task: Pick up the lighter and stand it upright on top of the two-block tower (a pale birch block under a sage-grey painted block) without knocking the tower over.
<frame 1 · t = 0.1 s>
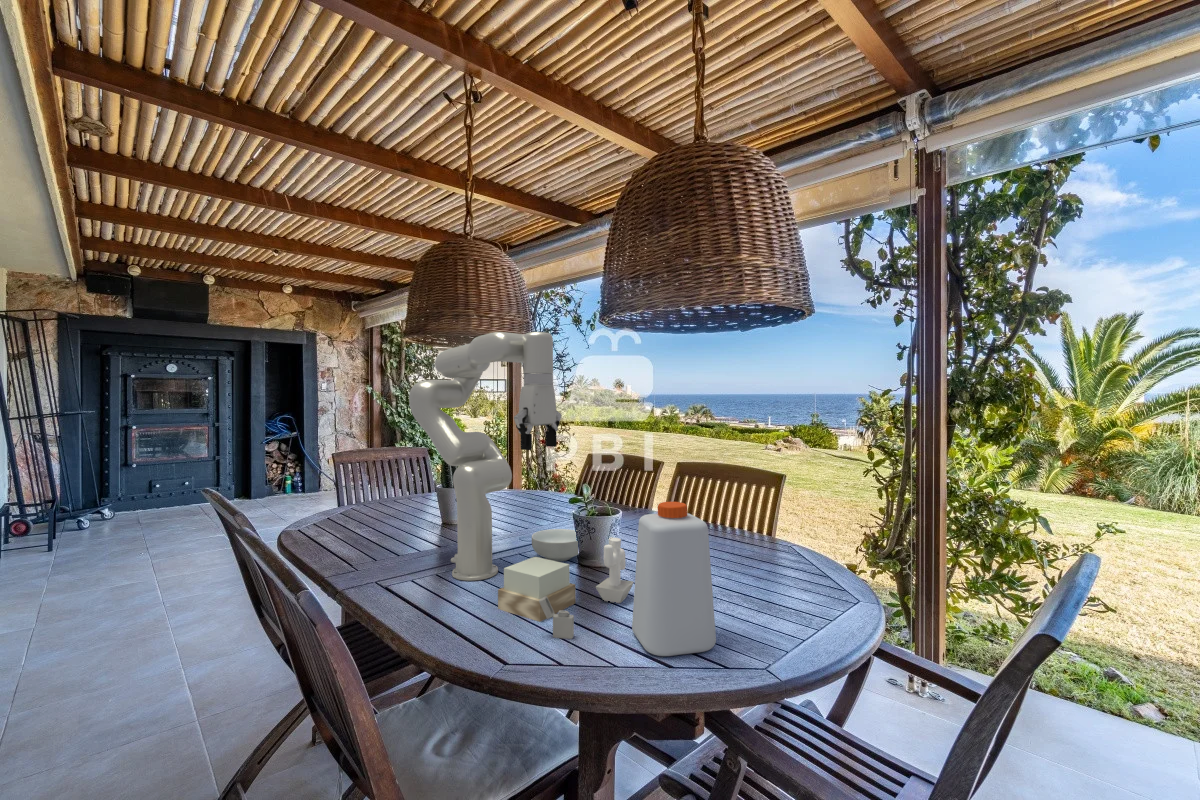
hand: (539, 448, 141), 37 cm above the table, tool pointing down, fingers open, 9 cm apart
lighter: (556, 636, 116), on the table
plastic bottle: (672, 640, 114), on the table
birch base block: (537, 607, 132), on the table, touching sage top block
cereal bowl: (558, 558, 171), on the table
figurine: (615, 599, 136), on the table
sage top block: (537, 587, 132), point 5 cm above the table, touching birch base block
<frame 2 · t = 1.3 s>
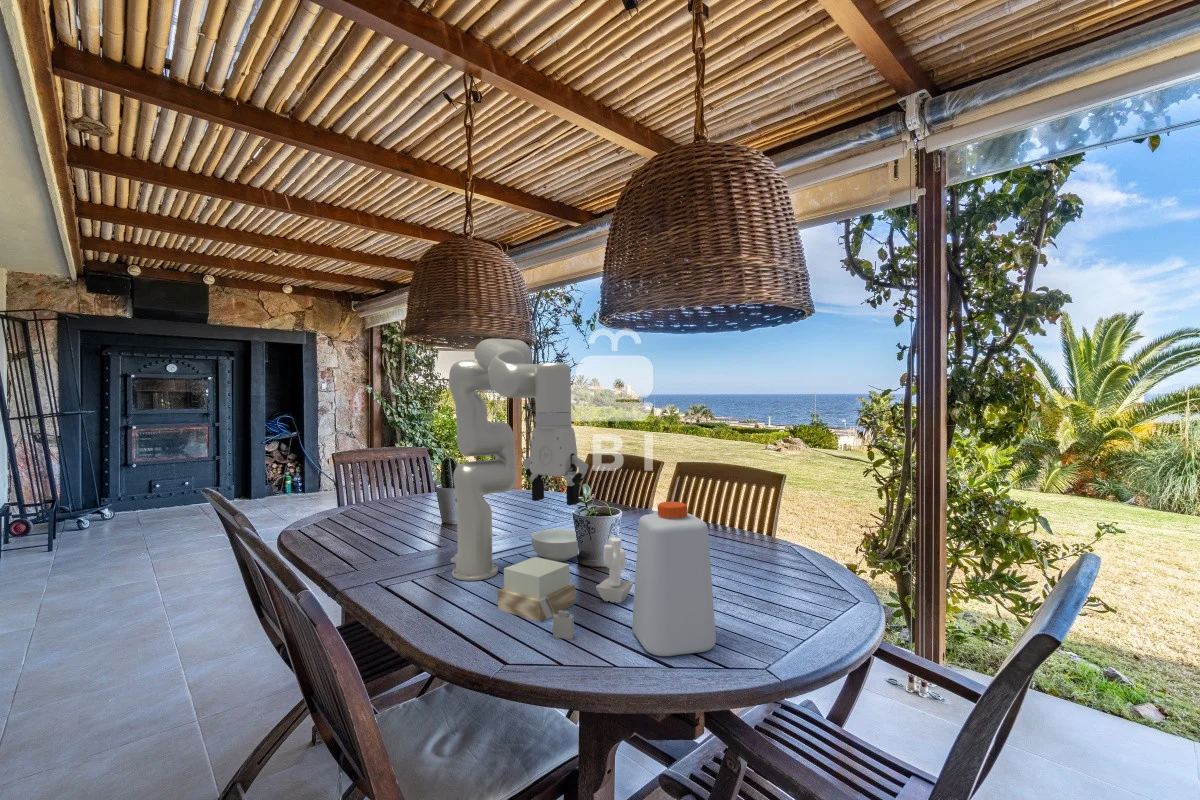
hand: (555, 502, 117), 28 cm above the table, tool pointing down, fingers open, 9 cm apart
nothing on the table moved.
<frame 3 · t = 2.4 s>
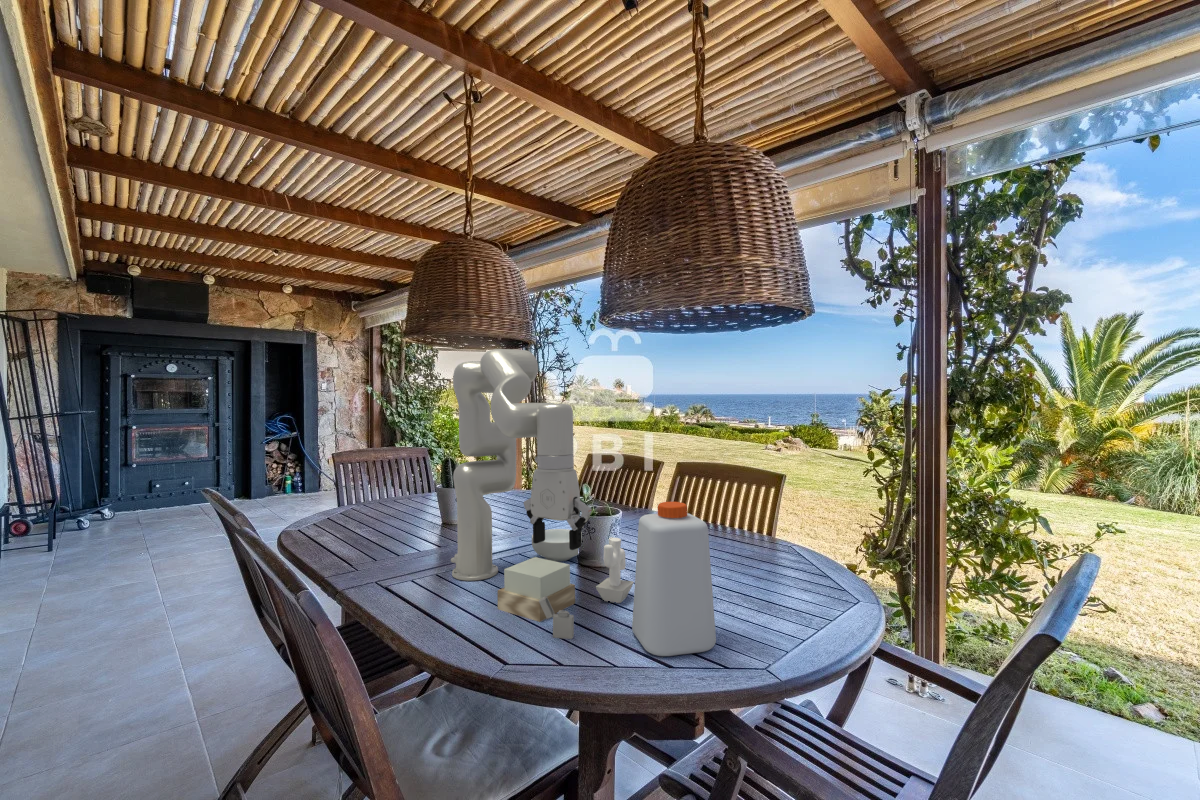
hand: (556, 545, 115), 19 cm above the table, tool pointing down, fingers open, 9 cm apart
nothing on the table moved.
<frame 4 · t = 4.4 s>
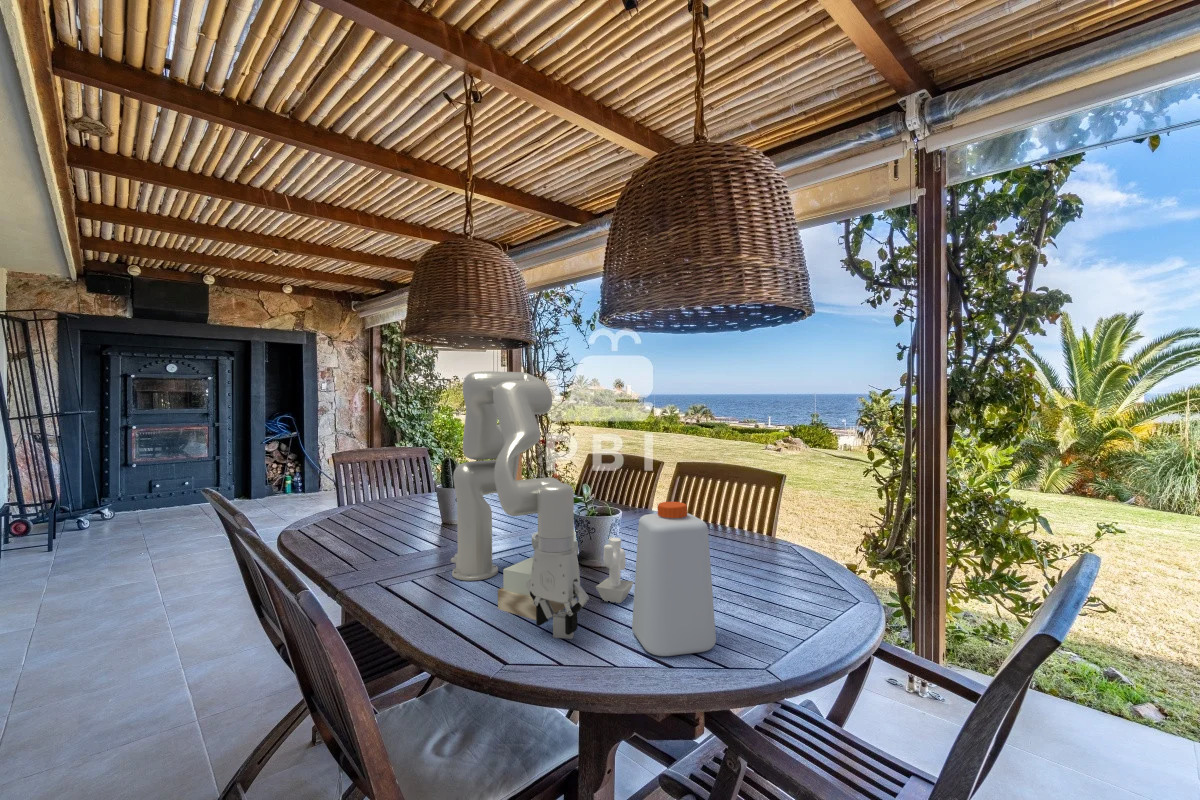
hand: (556, 627, 116), 2 cm above the table, tool pointing down, fingers closed on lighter, 7 cm apart
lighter: (556, 636, 116), on the table, touching gripper
everything else where it was.
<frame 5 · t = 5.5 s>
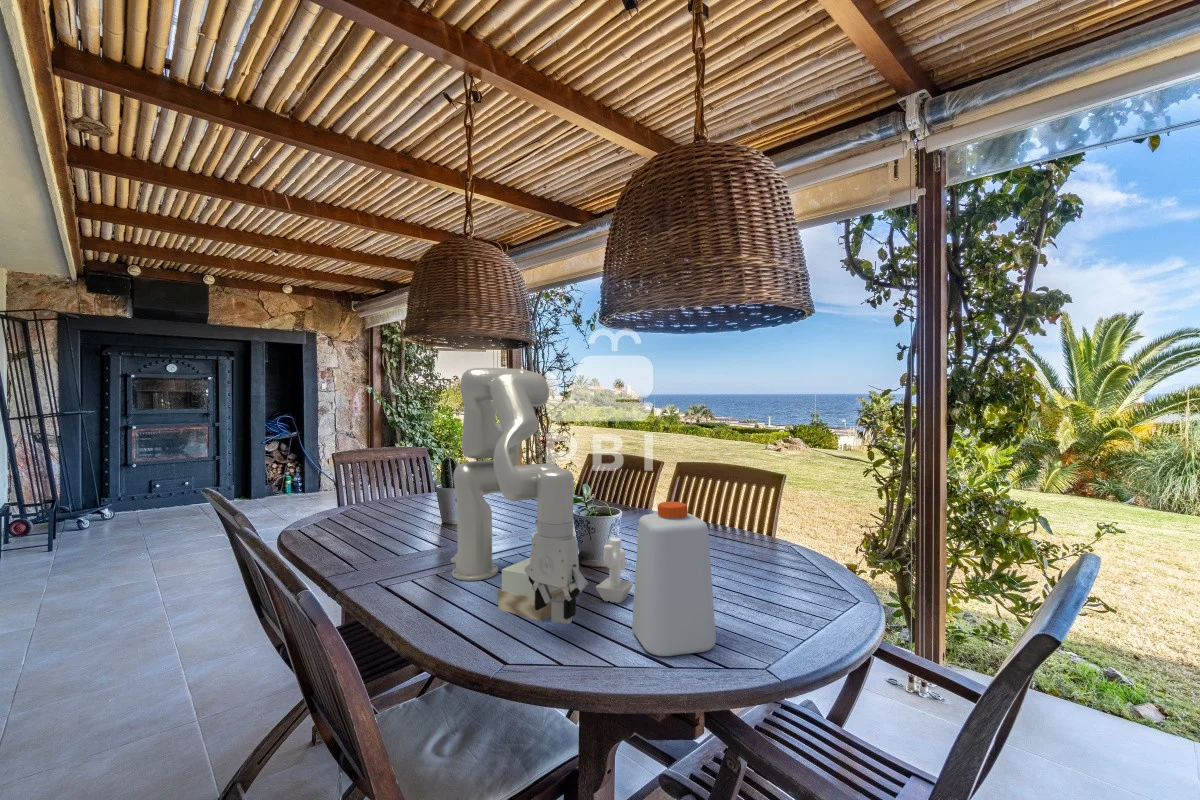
hand: (554, 611, 116), 5 cm above the table, tool pointing down, fingers closed on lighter, 7 cm apart
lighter: (554, 621, 116), point 3 cm above the table, touching gripper
everything else where it was.
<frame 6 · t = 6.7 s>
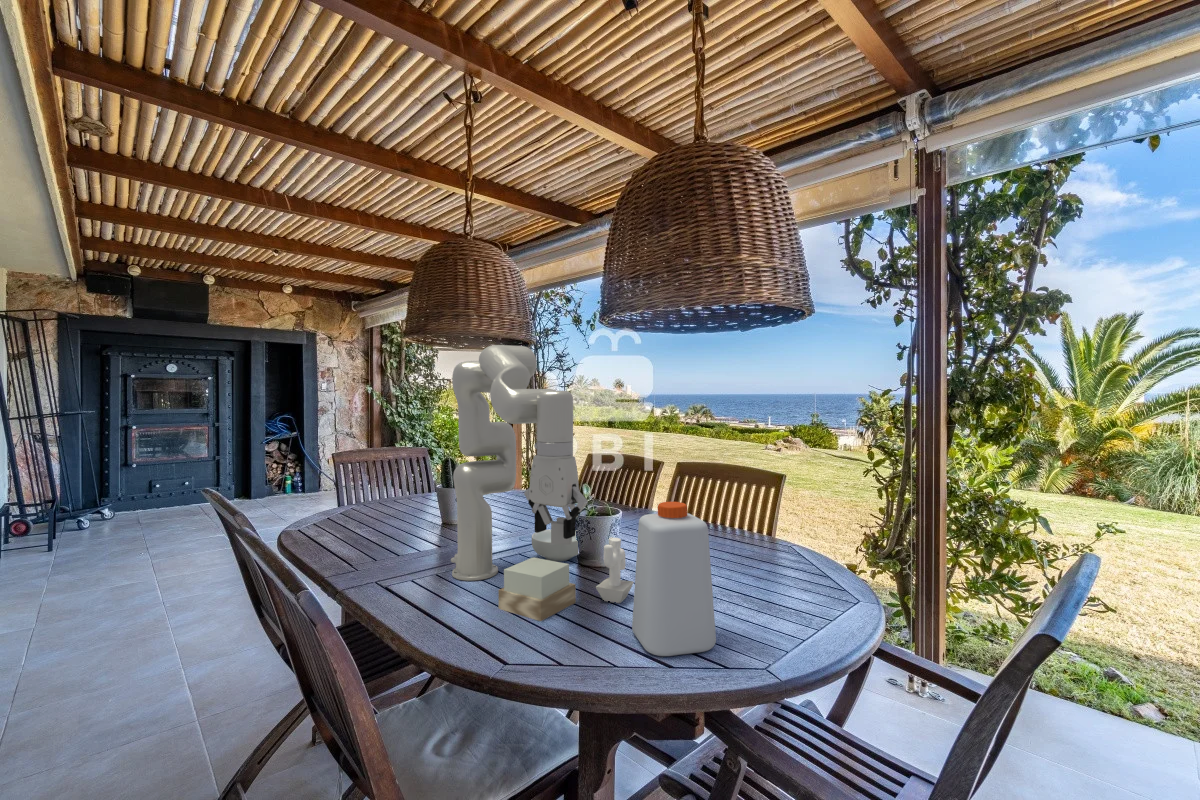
hand: (554, 533, 116), 21 cm above the table, tool pointing down, fingers closed on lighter, 7 cm apart
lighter: (554, 543, 116), point 19 cm above the table, touching gripper
birch base block: (537, 607, 132), on the table
sage top block: (537, 587, 132), point 4 cm above the table
everything else where it was.
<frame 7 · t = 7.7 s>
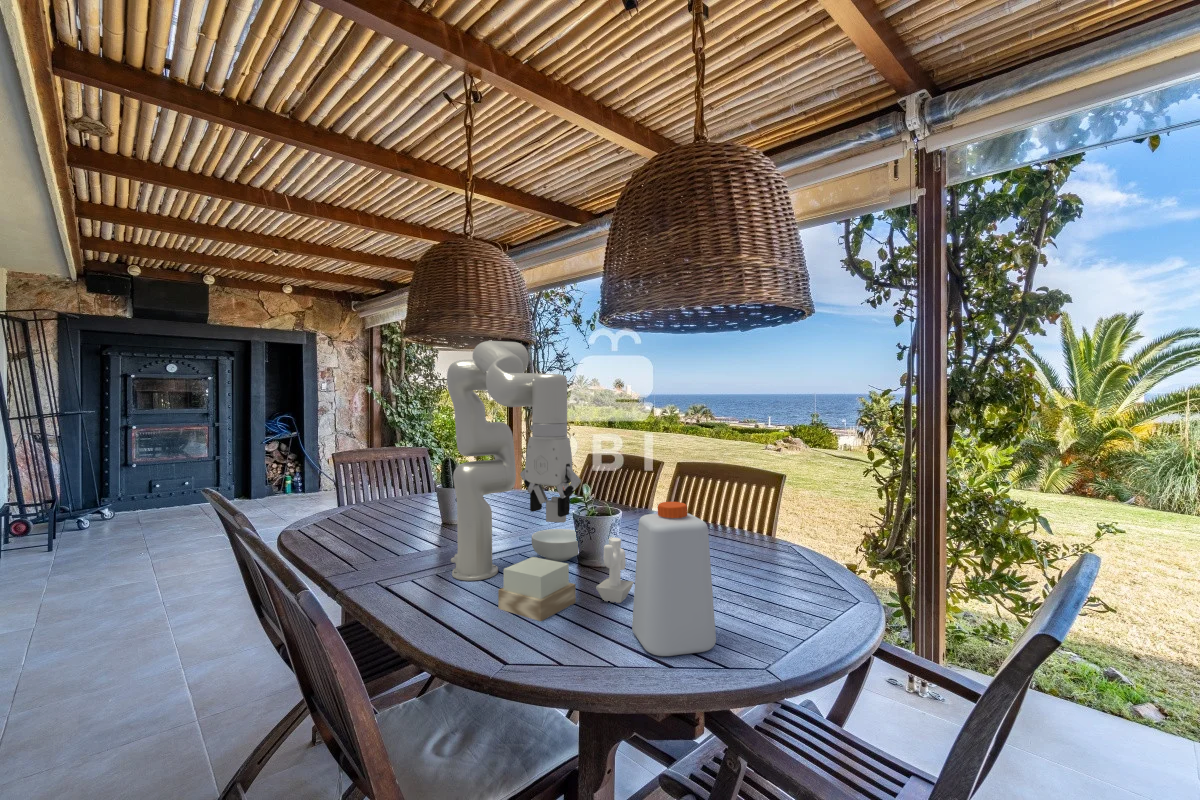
hand: (549, 512, 120), 25 cm above the table, tool pointing down, fingers closed on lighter, 7 cm apart
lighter: (549, 521, 120), point 23 cm above the table, touching gripper
birch base block: (537, 607, 132), on the table, touching sage top block
sage top block: (536, 587, 132), point 4 cm above the table, touching birch base block
everything else where it was.
when the fingers open (13 cm above the table, at t = 11.5 s): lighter drops 1 cm, resting on sage top block.
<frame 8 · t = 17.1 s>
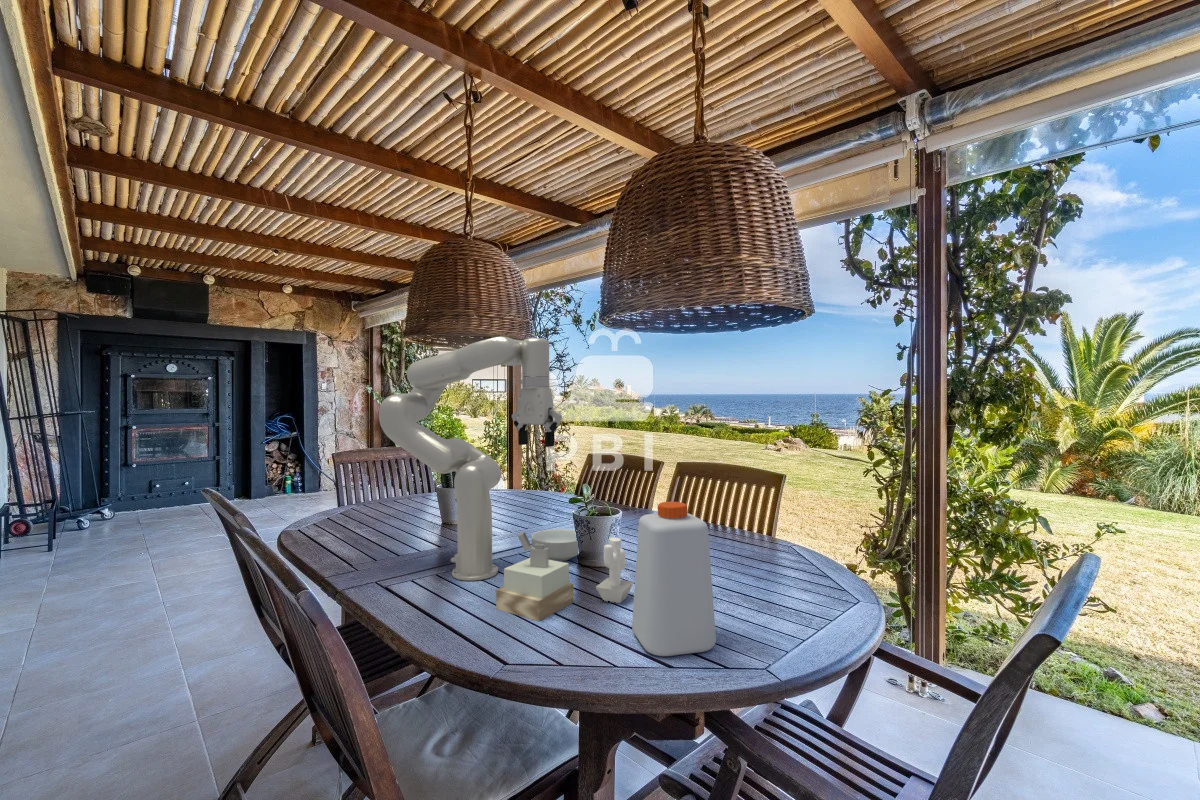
hand: (536, 445, 153), 36 cm above the table, tool pointing down, fingers open, 9 cm apart
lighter: (533, 566, 132), point 9 cm above the table, touching sage top block
sage top block: (536, 586, 132), point 5 cm above the table, touching birch base block, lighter
everything else where it was.
at the end: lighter inside the target area on the sage top block (0.7 cm from its centre), point 4.8 cm above the sage top block's base; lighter tilted 1°; sage top block 0.4 cm off-centre on the birch base block, point 5.0 cm above the birch base block's base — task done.
